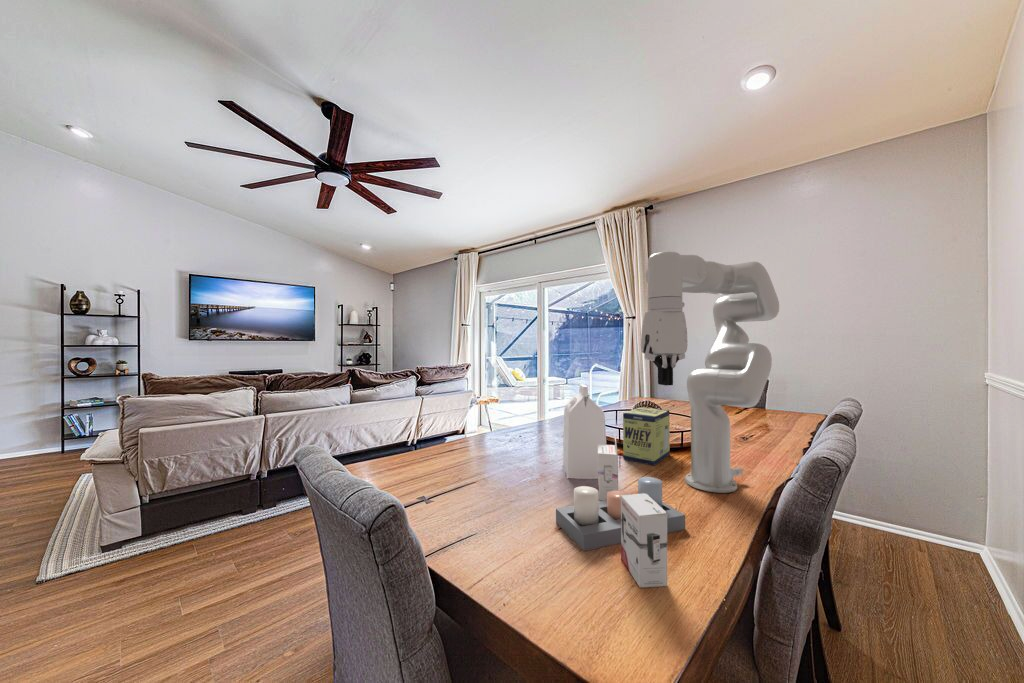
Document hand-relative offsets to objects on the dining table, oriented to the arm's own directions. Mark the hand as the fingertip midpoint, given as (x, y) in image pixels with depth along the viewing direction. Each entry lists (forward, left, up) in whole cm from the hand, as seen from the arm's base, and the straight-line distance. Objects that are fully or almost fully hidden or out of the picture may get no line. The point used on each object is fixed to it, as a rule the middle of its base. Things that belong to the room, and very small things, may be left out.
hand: (665, 384), depth 88 cm
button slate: (+7, +3, -27) cm, 28 cm away
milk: (+5, -29, -29) cm, 42 cm away
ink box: (+21, +18, -29) cm, 40 cm away
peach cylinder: (+15, +3, -29) cm, 32 cm away
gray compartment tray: (+15, +3, -29) cm, 33 cm away
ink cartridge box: (+8, -12, -29) cm, 33 cm away
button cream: (+23, +3, -27) cm, 35 cm away
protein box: (-22, -34, -29) cm, 50 cm away
